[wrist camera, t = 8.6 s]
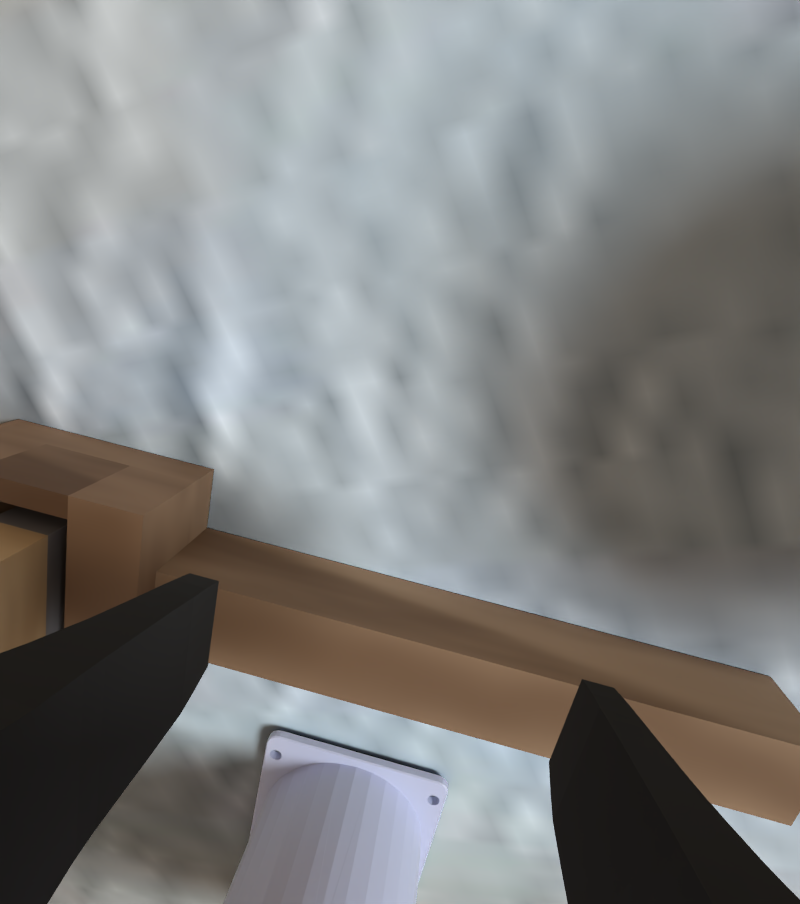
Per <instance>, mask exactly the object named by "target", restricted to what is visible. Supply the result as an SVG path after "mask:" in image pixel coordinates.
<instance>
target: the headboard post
mask: <svg viewBox="0 0 800 904" xmlns="http://www.w3.org/2000/svg"><path fill="white" fill-rule="evenodd" d="M213 473H214V469H210V468H206V467H203V466H199V465H195V464H191V463H187V462H183V461H179V460H175V459H171V458H168V457H164V456H160V455H156V454H152V453H148V452H144V451H140V450H136V449H133V448H129V447H125V446H121V445H117V444H113V443H109V442H105V441H102V440H98V439H94V438H90V437H86V436H82V435H78V434H74V433H70V432H67V431H63V430H59V429H55V428H51V427H47V426H43V425H39V424H35V423H32V422H28V421H24V420H20V419H17V420H14V421H10V422H6V423H2V424H0V514H1V513H3V512H5V511H7V510H10V509H12V508H14V507H16V506H19V507H23V508H26V509H30V510H34V511H38V512H41V513H45V514H49V515H53V516H56V517H60V518H64V519H67V549H66V582H65V615H64V628H66V627H69V626H71V625H74V624H76V623H79V622H81V621H84V620H86V619H88V618H91V617H93V616H95V615H97V614H100V613H102V612H104V611H106V610H109V609H111V608H113V607H115V606H118V605H120V604H122V603H124V602H126V601H129V600H131V599H133V598H135V597H137V596H140V595H142V594H144V593H146V592H148V591H150V590H153V589H155V588H157V587H159V586H161V585H163V584H166V583H168V582H170V581H172V580H174V579H177V578H179V577H181V576H184V575H186V574H189V573H191V574H195V575H199V576H202V577H206V578H210V579H213V580H217V581H219V584H218V592H217V600H216V607H215V615H214V622H213V630H212V638H211V645H210V653H209V660H208V663H211V664H214V665H218V666H222V667H225V668H229V669H232V670H236V671H239V672H243V673H247V674H250V675H254V676H257V677H261V678H264V679H268V680H272V681H275V682H279V683H282V684H286V685H289V686H293V687H297V688H300V689H304V690H307V691H311V692H315V693H318V694H322V695H325V696H329V697H332V698H336V699H340V700H343V701H347V702H350V703H354V704H357V705H361V706H365V707H368V708H372V709H375V710H379V711H382V712H386V713H390V714H393V715H397V716H400V717H404V718H407V719H411V720H415V721H418V722H422V723H425V724H429V725H432V726H436V727H440V728H443V729H447V730H450V731H454V732H458V733H461V734H465V735H468V736H472V737H475V738H479V739H483V740H486V741H490V742H493V743H497V744H500V745H504V746H508V747H511V748H515V749H518V750H522V751H525V752H529V753H533V754H536V755H540V756H543V757H547V758H551V756H552V753H553V751H554V748H555V746H556V743H557V740H558V738H559V735H560V733H561V730H562V728H563V725H564V723H565V720H566V718H567V715H568V713H569V710H570V708H571V705H572V703H573V700H574V698H575V695H576V693H577V690H578V688H579V685H580V683H581V680H582V679H584V680H587V681H591V682H595V683H598V684H602V685H606V686H610V687H613V688H615V689H616V690H617V691H618V693H619V694H620V695H621V696H622V697H623V698H624V699H625V701H626V702H627V703H628V704H629V705H630V706H631V708H632V709H633V710H634V711H635V713H636V714H637V715H638V716H639V717H640V719H641V720H642V721H643V722H644V724H645V725H646V726H647V727H648V728H649V730H650V731H651V732H652V733H653V735H654V736H655V737H656V738H657V740H658V741H659V742H660V743H661V745H662V746H663V747H664V748H665V749H666V751H667V752H668V753H669V754H670V756H671V757H672V758H673V759H674V760H675V762H676V763H677V764H678V765H679V767H680V768H681V769H682V770H683V771H684V773H685V774H686V775H687V776H688V777H689V779H690V780H691V781H692V782H693V783H694V785H695V786H696V787H697V788H698V789H699V790H700V792H701V793H702V794H703V795H704V796H705V797H706V799H707V800H708V801H709V802H710V803H711V804H715V805H718V806H722V807H726V808H729V809H733V810H736V811H740V812H744V813H747V814H751V815H754V816H758V817H761V818H765V819H769V820H772V821H776V822H779V823H783V824H786V825H790V826H791V825H792V824H793V822H794V820H795V819H796V817H797V815H798V814H799V812H800V713H799V711H798V710H797V709H796V708H795V706H794V705H793V704H792V703H791V702H790V700H789V699H788V698H787V697H786V695H785V694H784V693H783V692H782V690H781V689H780V688H779V687H778V686H777V684H776V683H775V682H774V681H773V679H772V678H771V677H769V676H766V675H762V674H758V673H754V672H751V671H747V670H743V669H739V668H735V667H732V666H728V665H724V664H720V663H716V662H713V661H709V660H705V659H701V658H698V657H694V656H690V655H686V654H682V653H679V652H675V651H671V650H667V649H663V648H660V647H656V646H652V645H648V644H645V643H641V642H637V641H633V640H629V639H626V638H622V637H618V636H614V635H610V634H607V633H603V632H599V631H595V630H592V629H588V628H584V627H580V626H576V625H573V624H569V623H565V622H561V621H558V620H554V619H550V618H546V617H542V616H539V615H535V614H531V613H527V612H523V611H520V610H516V609H512V608H508V607H505V606H501V605H497V604H493V603H489V602H486V601H482V600H478V599H474V598H470V597H467V596H463V595H459V594H455V593H452V592H448V591H444V590H440V589H436V588H433V587H429V586H425V585H421V584H417V583H414V582H410V581H406V580H402V579H399V578H395V577H391V576H387V575H383V574H380V573H376V572H372V571H368V570H364V569H361V568H357V567H353V566H349V565H346V564H342V563H338V562H334V561H330V560H327V559H323V558H319V557H315V556H311V555H308V554H304V553H300V552H296V551H293V550H289V549H285V548H281V547H277V546H274V545H270V544H266V543H262V542H259V541H255V540H251V539H247V538H243V537H240V536H236V535H232V534H228V533H224V532H221V531H217V530H213V529H209V528H207V523H208V515H209V506H210V498H211V490H212V481H213Z"/></svg>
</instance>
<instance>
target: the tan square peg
mask: <svg viewBox="0 0 800 904" xmlns="http://www.w3.org/2000/svg"><path fill="white" fill-rule="evenodd" d="M66 549H67V519H64V518H60V517H56V516H53V515H49V514H45V513H41V512H38V511H34V510H30V509H26V508H23V507H19V506H16V507H14V508H12V509H10V510H7V511H5V512H3V513H1V514H0V653H2V652H5V651H7V650H10V649H13V648H16V647H18V646H21V645H24V644H27V643H29V642H31V641H34V640H36V639H39V638H41V637H44V636H46V635H49V634H51V633H54V632H56V631H59V630H61V629H64V615H65V582H66Z"/></svg>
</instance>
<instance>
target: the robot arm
mask: <svg viewBox="0 0 800 904" xmlns="http://www.w3.org/2000/svg"><path fill="white" fill-rule="evenodd" d="M218 584H219V581H217V580H213V579H210V578H206V577H202V576H199V575H195V574H191V573H189V574H186V575H184V576H181V577H179V578H177V579H174V580H172V581H170V582H168V583H166V584H163V585H161V586H159V587H157V588H155V589H153V590H150V591H148V592H146V593H144V594H142V595H140V596H137V597H135V598H133V599H131V600H129V601H126V602H124V603H122V604H120V605H118V606H115V607H113V608H111V609H109V610H106V611H104V612H102V613H100V614H97V615H95V616H93V617H91V618H88V619H86V620H84V621H81V622H79V623H76V624H74V625H71V626H69V627H66V628H64V629H61V630H59V631H56V632H54V633H51V634H49V635H46V636H44V637H41V638H39V639H36V640H34V641H31V642H29V643H27V644H24V645H21V646H18V647H16V648H13V649H10V650H7V651H5V652H2V653H0V904H47V903H48V902H49V900H50V898H51V897H52V895H53V894H54V892H55V890H56V889H57V887H58V886H59V884H60V882H61V881H62V879H63V877H64V876H65V874H66V873H67V871H68V869H69V868H70V866H71V865H72V863H73V861H74V860H75V858H76V857H77V855H78V854H79V852H80V851H81V850H82V848H83V847H84V845H85V844H86V842H87V841H88V839H89V838H90V837H91V835H92V834H93V832H94V831H95V829H96V828H97V827H98V825H99V824H100V822H101V821H102V820H103V818H104V817H105V816H106V814H107V813H108V812H109V810H110V809H111V808H112V806H113V805H114V804H115V802H116V801H117V800H118V798H119V797H120V795H121V794H122V793H123V791H124V790H125V789H126V787H127V786H128V785H129V783H130V782H131V781H132V779H133V778H134V777H135V775H136V774H137V773H138V771H139V770H140V768H141V767H142V766H143V764H144V763H145V762H146V760H147V759H148V758H149V756H150V755H151V754H152V752H153V751H154V750H155V748H156V747H157V745H158V744H159V743H160V741H161V740H162V739H163V737H164V736H165V735H166V733H167V732H168V730H169V729H170V728H171V726H172V725H173V724H174V722H175V721H176V719H177V718H178V717H179V715H180V714H181V712H182V710H183V709H184V707H185V705H186V703H187V702H188V700H189V698H190V697H191V695H192V693H193V692H194V690H195V688H196V686H197V684H198V683H199V681H200V679H201V677H202V675H203V674H204V672H205V670H206V668H207V666H208V660H209V653H210V645H211V638H212V630H213V622H214V615H215V607H216V600H217V592H218ZM275 750H277V751H279V752H277V751H275ZM549 769H550V787H551V802H552V815H553V824H554V830H555V836H556V841H557V847H558V853H559V858H560V864H561V869H562V875H563V880H564V886H565V891H566V896H567V902H568V904H800V899H799V898H798V897H797V896H796V895H795V894H794V893H793V892H792V891H791V890H790V889H789V888H788V887H787V886H786V885H785V884H784V883H783V882H782V881H781V880H780V879H779V878H778V877H777V876H776V875H775V874H774V873H773V872H772V871H771V870H770V869H769V868H768V867H767V866H766V864H765V863H764V862H763V861H762V860H761V859H760V858H759V857H758V856H757V855H756V854H755V853H754V851H753V850H752V849H751V848H750V847H749V846H748V845H747V844H746V843H745V841H744V840H743V839H742V838H741V837H740V836H739V835H738V834H737V833H736V832H735V830H734V829H733V828H732V827H731V826H730V825H729V824H728V823H727V822H726V820H725V819H724V818H723V817H722V816H721V815H720V814H719V812H718V811H717V810H716V809H715V808H714V807H713V806H712V804H711V803H710V802H709V801H708V800H707V799H706V797H705V796H704V795H703V794H702V793H701V792H700V790H699V789H698V788H697V787H696V786H695V785H694V783H693V782H692V781H691V780H690V779H689V777H688V776H687V775H686V774H685V773H684V771H683V770H682V769H681V768H680V767H679V765H678V764H677V763H676V762H675V760H674V759H673V758H672V757H671V756H670V754H669V753H668V752H667V751H666V749H665V748H664V747H663V746H662V745H661V743H660V742H659V741H658V740H657V738H656V737H655V736H654V735H653V733H652V732H651V731H650V730H649V728H648V727H647V726H646V725H645V724H644V722H643V721H642V720H641V719H640V717H639V716H638V715H637V714H636V713H635V711H634V710H633V709H632V708H631V706H630V705H629V704H628V703H627V702H626V701H625V699H624V698H623V697H622V696H621V695H620V694H619V693H618V691H617V690H616V689H615V688H613V687H610V686H606V685H602V684H598V683H595V682H591V681H587V680H584V679H582V680H581V683H580V685H579V688H578V690H577V693H576V695H575V698H574V700H573V703H572V705H571V708H570V710H569V713H568V715H567V718H566V720H565V723H564V725H563V728H562V730H561V733H560V735H559V738H558V740H557V743H556V746H555V748H554V751H553V753H552V756H551V758H550V761H549ZM447 794H448V783H447V780H445V779H444V778H443V777H441V776H439V775H436V774H432V773H429V772H425V771H421V770H418V769H414V768H411V767H407V766H404V765H400V764H397V763H393V762H390V761H386V760H383V759H379V758H376V757H372V756H369V755H365V754H362V753H358V752H355V751H351V750H348V749H344V748H341V747H337V746H334V745H330V744H327V743H323V742H320V741H316V740H313V739H309V738H306V737H302V736H299V735H295V734H292V733H288V732H285V731H280V730H276V731H273V732H272V733H271V734H270V736H269V738H268V740H267V743H266V749H265V754H264V760H263V765H262V771H261V776H260V781H259V787H258V792H257V798H256V803H255V809H254V814H253V820H252V825H251V831H250V836H249V841H248V844H247V846H246V848H245V851H244V853H243V856H242V858H241V861H240V863H239V866H238V868H237V870H236V873H235V875H234V878H233V880H232V883H231V885H230V888H229V890H228V893H227V895H226V897H225V900H224V902H223V904H416V898H417V887H418V883H419V880H420V877H421V873H422V870H423V867H424V864H425V861H426V858H427V855H428V852H429V849H430V846H431V843H432V840H433V837H434V834H435V831H436V828H437V825H438V822H439V819H440V816H441V813H442V810H443V807H444V804H445V800H446V797H447ZM431 795H432V796H436V797H432V796H431Z"/></svg>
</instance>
